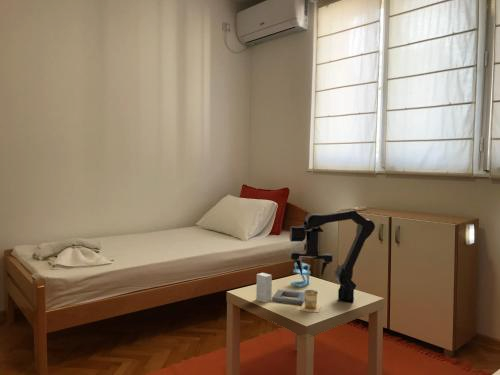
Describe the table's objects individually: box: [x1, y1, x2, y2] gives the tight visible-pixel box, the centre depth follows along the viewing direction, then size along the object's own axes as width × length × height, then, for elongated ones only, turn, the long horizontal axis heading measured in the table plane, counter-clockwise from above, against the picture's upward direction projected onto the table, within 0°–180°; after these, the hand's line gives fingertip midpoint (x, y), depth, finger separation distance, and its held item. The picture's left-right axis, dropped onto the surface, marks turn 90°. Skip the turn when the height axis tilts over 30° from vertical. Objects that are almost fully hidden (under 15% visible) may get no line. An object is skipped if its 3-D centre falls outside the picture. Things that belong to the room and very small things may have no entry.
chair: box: [290, 262, 312, 288], centre depth 210 cm, size 8×8×12 cm
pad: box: [299, 302, 322, 314], centre depth 176 cm, size 8×8×1 cm
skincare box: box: [255, 272, 273, 304], centre depth 185 cm, size 6×4×12 cm
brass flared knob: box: [304, 289, 319, 310], centre depth 176 cm, size 6×6×7 cm
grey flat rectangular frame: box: [271, 289, 305, 306], centre depth 188 cm, size 14×12×2 cm
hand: (311, 274), depth 186 cm, fingers open, 9 cm apart
